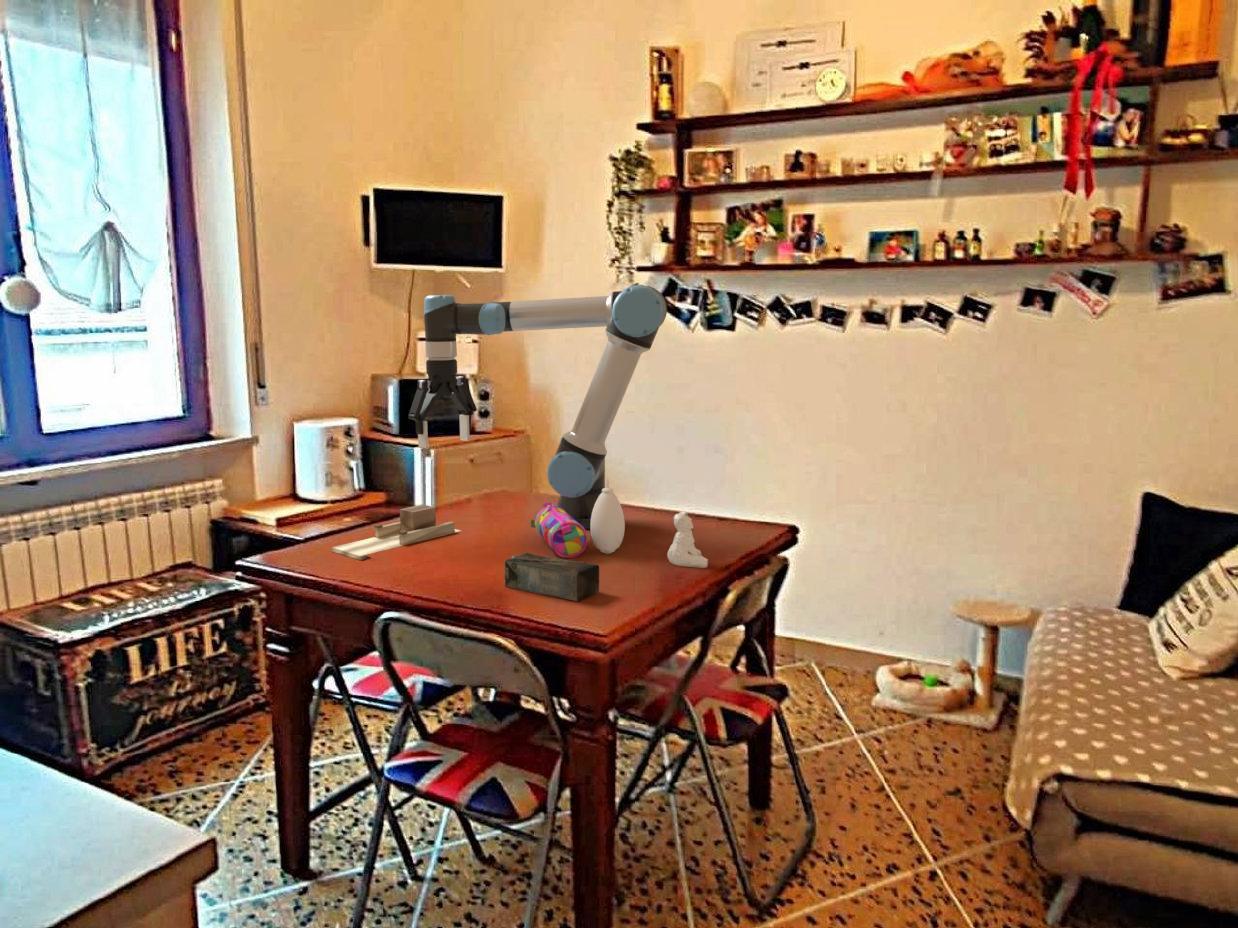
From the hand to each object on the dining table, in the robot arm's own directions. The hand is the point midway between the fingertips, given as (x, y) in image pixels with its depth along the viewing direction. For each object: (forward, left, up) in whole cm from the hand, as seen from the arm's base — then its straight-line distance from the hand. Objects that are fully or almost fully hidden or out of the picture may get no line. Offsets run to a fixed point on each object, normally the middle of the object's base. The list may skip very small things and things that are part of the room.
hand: (444, 443), depth 237 cm
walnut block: (0, +9, -22) cm, 23 cm away
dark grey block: (-53, +17, -23) cm, 61 cm away
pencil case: (-32, -7, -23) cm, 40 cm away
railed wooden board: (0, +15, -23) cm, 27 cm away
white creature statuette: (-63, -16, -23) cm, 69 cm away
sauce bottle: (-44, -11, -23) cm, 51 cm away
